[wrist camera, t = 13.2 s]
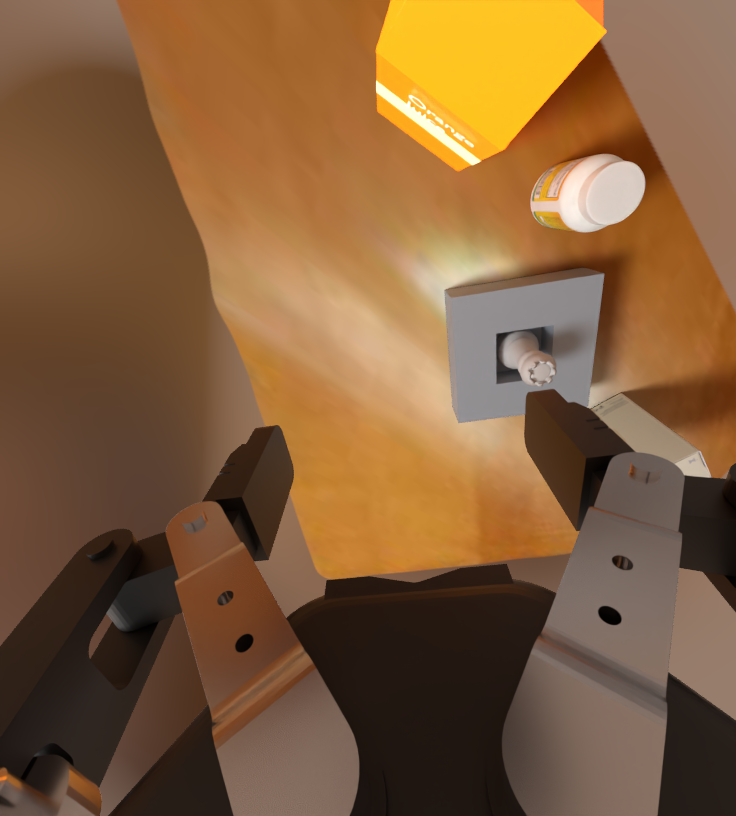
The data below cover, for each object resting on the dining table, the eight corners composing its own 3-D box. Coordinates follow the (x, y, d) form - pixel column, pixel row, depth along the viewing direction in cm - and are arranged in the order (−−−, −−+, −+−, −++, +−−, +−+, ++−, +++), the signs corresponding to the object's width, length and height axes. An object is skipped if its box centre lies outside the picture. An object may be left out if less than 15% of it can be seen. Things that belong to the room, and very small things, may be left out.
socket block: (444, 290, 39) (451, 298, 36) (583, 267, 38) (604, 273, 34) (452, 406, 46) (458, 422, 42) (571, 390, 44) (587, 406, 41)
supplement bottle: (526, 174, 34) (575, 163, 26) (587, 153, 33) (658, 134, 25) (531, 236, 37) (578, 244, 28) (589, 218, 36) (654, 221, 27)
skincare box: (586, 410, 45) (650, 472, 35) (622, 390, 44) (701, 448, 33) (604, 444, 48) (670, 513, 37) (640, 427, 46) (719, 493, 36)
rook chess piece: (542, 348, 41) (576, 377, 34) (505, 372, 42) (531, 404, 35) (522, 316, 39) (554, 340, 32) (485, 342, 41) (508, 370, 34)
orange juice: (427, 5, 29) (502, -310, 11) (514, 79, 31) (693, -92, 13) (375, 113, 32) (371, -2, 15) (456, 174, 34) (540, 137, 17)
